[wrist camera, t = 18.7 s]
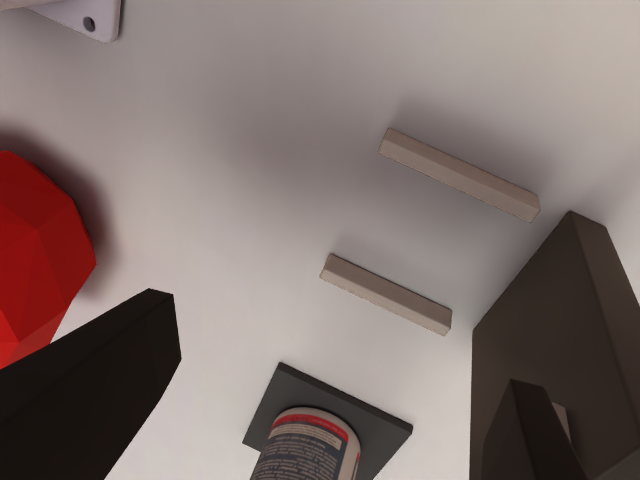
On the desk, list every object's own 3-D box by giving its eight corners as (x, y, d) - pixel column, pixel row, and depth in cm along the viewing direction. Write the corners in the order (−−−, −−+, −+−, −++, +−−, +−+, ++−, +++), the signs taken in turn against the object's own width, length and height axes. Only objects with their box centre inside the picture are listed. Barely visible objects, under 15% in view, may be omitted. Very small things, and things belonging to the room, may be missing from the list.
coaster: (244, 436, 31) (241, 443, 31) (279, 361, 26) (276, 368, 26) (358, 491, 31) (356, 499, 30) (413, 425, 26) (412, 433, 26)
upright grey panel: (325, 262, 22) (234, 455, 14) (388, 126, 18) (312, 287, 10) (502, 345, 22) (514, 592, 14) (607, 227, 18) (715, 477, 9)
